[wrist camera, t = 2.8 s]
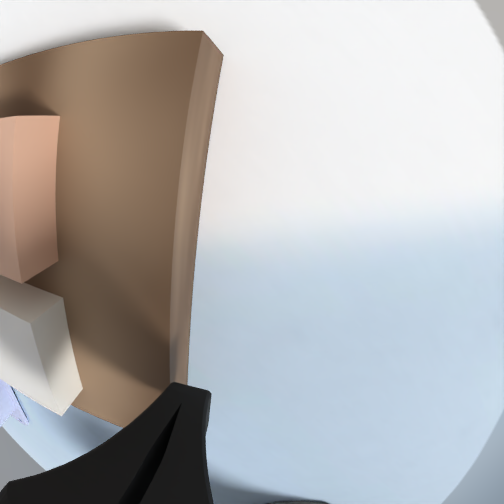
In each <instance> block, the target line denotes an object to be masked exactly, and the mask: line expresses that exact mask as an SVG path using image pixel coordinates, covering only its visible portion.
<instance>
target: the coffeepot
mask: <svg viewBox="0 0 504 504" xmlns="http://www.w3.org/2000/svg"><path fill="white" fill-rule="evenodd" d="M268 504H326V503H319V502H305V501H290V502H275V503H268Z"/></svg>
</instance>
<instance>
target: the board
mask: <svg viewBox="0 0 504 504" xmlns="http://www.w3.org/2000/svg"><path fill="white" fill-rule="evenodd" d="M222 60H223V54H222V53H221V51H220V50H219V49H218V48H217V47H216V45H215V44H214V43H213V42H212V41H211V39H210V38H209V37H208V36H207V35H206V34H205V32H204V31H167V32H151V33H139V34H130V35H121V36H114V37H107V38H101V39H95V40H89V41H84V42H79V43H74V44H70V45H65V46H61V47H57V48H53V49H49V50H45V51H42V52H38V53H35V54H31V55H28V56H25V57H22V58H19V59H16V60H13V61H10V62H7V63H4V64H1V65H0V118H5V117H12V116H60V122H59V131H58V143H57V158H56V192H55V198H56V232H57V248H58V260H59V261H58V262H56V263H55V264H53V265H51V266H50V267H48V268H46V269H45V270H43V271H41V272H40V273H38V274H37V275H35V276H33V277H32V278H30V279H29V280H27V281H25V282H24V283H26V284H29V285H31V286H34V287H36V288H39V289H41V290H44V291H47V292H49V293H52V294H55V295H57V296H60V297H63V301H64V307H65V313H66V319H67V324H68V329H69V334H70V339H71V344H72V349H73V353H74V357H75V361H76V365H77V369H78V373H79V377H80V381H81V384H82V388H83V389H82V390H81V392H80V393H79V394H78V396H77V397H76V398H75V400H74V401H73V402H72V404H71V405H72V406H74V407H76V408H79V409H81V410H83V411H85V412H87V413H89V414H91V415H94V416H96V417H98V418H101V419H103V420H105V421H108V422H110V423H112V424H115V425H117V426H120V427H122V428H124V427H126V426H127V425H128V424H130V423H131V422H132V421H133V420H134V419H135V418H137V417H138V416H139V415H140V414H141V413H142V412H143V411H144V410H145V409H147V408H148V407H149V406H150V405H151V404H152V403H153V402H154V401H155V400H156V399H157V398H158V397H159V396H160V395H161V394H162V392H163V391H164V390H165V389H166V388H167V387H168V386H169V385H170V383H172V382H177V383H181V384H185V385H187V380H188V356H189V337H190V321H191V306H192V292H193V280H194V268H195V257H196V246H197V236H198V226H199V217H200V208H201V200H202V191H203V183H204V175H205V168H206V160H207V153H208V146H209V139H210V132H211V125H212V119H213V113H214V106H215V100H216V94H217V88H218V83H219V77H220V71H221V66H222Z"/></svg>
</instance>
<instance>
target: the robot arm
mask: <svg viewBox="0 0 504 504" xmlns="http://www.w3.org/2000/svg"><path fill="white" fill-rule="evenodd" d="M210 403H211V393H210V392H209V391H208V390H204V389H200V388H196V387H192V386H188V385H185V384H181V383H177V382H172V383H170V385H169V386H168V387H167V388H166V389H165V390H164V391H163V392H162V394H161V395H160V396H159V397H158V398H157V399H156V400H155V401H154V402H153V403H152V404H151V405H150V406H149V407H148V408H147V409H145V410H144V411H143V412H142V413H141V414H140V415H139V416H138V417H137V418H135V419H134V420H133V421H132V422H131V423H130V424H128V425H127V426H126V427H124V428H123V429H122V430H121V431H119V432H118V433H117V434H115V435H114V436H113V437H111V438H110V439H108V440H107V441H106V442H104V443H103V444H101V445H99V446H98V447H96V448H95V449H93V450H91V451H90V452H88V453H86V454H84V455H82V456H80V457H78V458H76V459H75V460H73V461H70V462H68V463H66V464H64V465H61V466H59V467H56V468H54V469H51V470H49V471H46V472H43V473H41V474H37V475H34V476H30V477H26V478H22V479H18V480H14V481H10V482H8V483H7V485H6V486H5V487H4V488H3V489H2V490H1V492H0V504H213V499H212V494H211V489H210V483H209V477H208V469H207V459H206V438H205V436H206V431H207V427H208V422H209V412H210ZM10 415H11V416H13V417H14V418H15V419H17V420H18V421H20V422H21V423H23V424H24V425H26V426H27V425H28V424H29V422H28V420H27V418H26V416H25V414H24V412H23V410H22V408H21V407H20V405H19V403H18V401H17V398H16V396H15V394H14V392H13V390H12V388H11V386H10V385H9V384H7V383H6V382H4V381H3V380H2V379H0V427H1V426H2V425H3V424H4V422H5V421H6V420H7V419H8V418H9V416H10Z"/></svg>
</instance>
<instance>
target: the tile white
mask: <svg viewBox="0 0 504 504" xmlns="http://www.w3.org/2000/svg"><path fill="white" fill-rule="evenodd" d="M0 379H2V380H3V381H4V382H6V383H7V384H9V385H10V386H12V387H13V388H15V389H16V390H18V391H19V392H21V393H22V394H24V395H26V396H27V397H29V398H30V399H32V400H34V401H35V402H37V403H39V404H40V405H42V406H44V407H46V408H47V409H49V410H51V411H53V412H55V413H56V414H58V415H60V416H63V414H64V413H65V412H66V410H67V409H68V408H69V406H70V405H71V404H72V402H73V401H74V400H75V398H76V397H77V396H78V394H79V393H80V392H81V390H82V389H83V388H82V384H81V381H80V377H79V373H78V369H77V365H76V361H75V357H74V353H73V349H72V344H71V339H70V334H69V329H68V324H67V319H66V313H65V307H64V301H63V297H60V296H57V295H55V294H52V293H49V292H47V291H44V290H41V289H39V288H36V287H34V286H31V285H29V284H26V283H22V284H21V283H19V282H17V281H14V280H12V279H10V278H7V277H5V276H3V275H0Z"/></svg>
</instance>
